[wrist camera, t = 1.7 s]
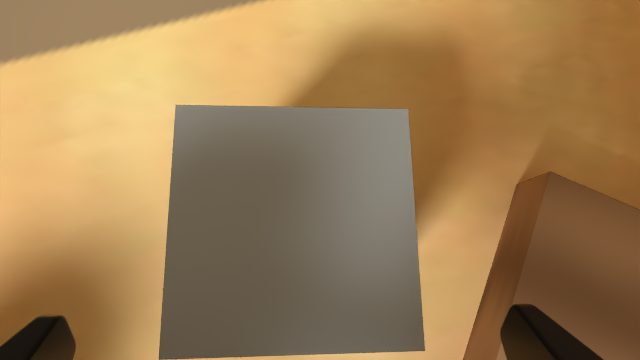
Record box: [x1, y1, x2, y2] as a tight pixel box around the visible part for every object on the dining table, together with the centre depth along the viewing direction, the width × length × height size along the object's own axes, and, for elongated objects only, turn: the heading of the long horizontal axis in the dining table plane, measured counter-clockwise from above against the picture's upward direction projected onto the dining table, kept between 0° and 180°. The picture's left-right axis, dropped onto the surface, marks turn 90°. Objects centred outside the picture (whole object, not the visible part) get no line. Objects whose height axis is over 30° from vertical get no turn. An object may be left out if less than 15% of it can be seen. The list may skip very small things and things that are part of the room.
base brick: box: [463, 172, 640, 360], centre depth 17 cm, size 10×10×3 cm
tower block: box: [159, 105, 425, 360], centre depth 14 cm, size 6×6×8 cm
